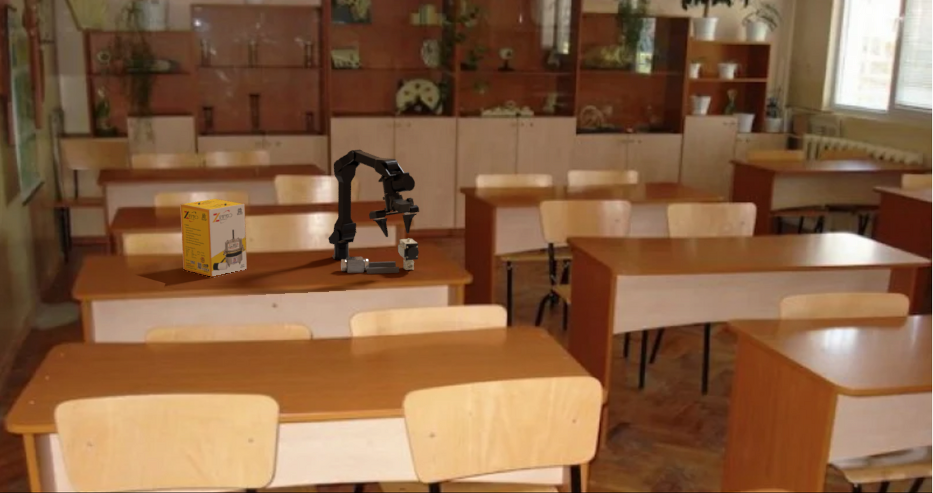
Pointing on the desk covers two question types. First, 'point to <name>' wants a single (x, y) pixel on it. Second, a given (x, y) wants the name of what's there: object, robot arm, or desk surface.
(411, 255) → the pneumatic valve
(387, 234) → the robot arm
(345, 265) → the coupling
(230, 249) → the packaging box
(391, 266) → the guide channel
